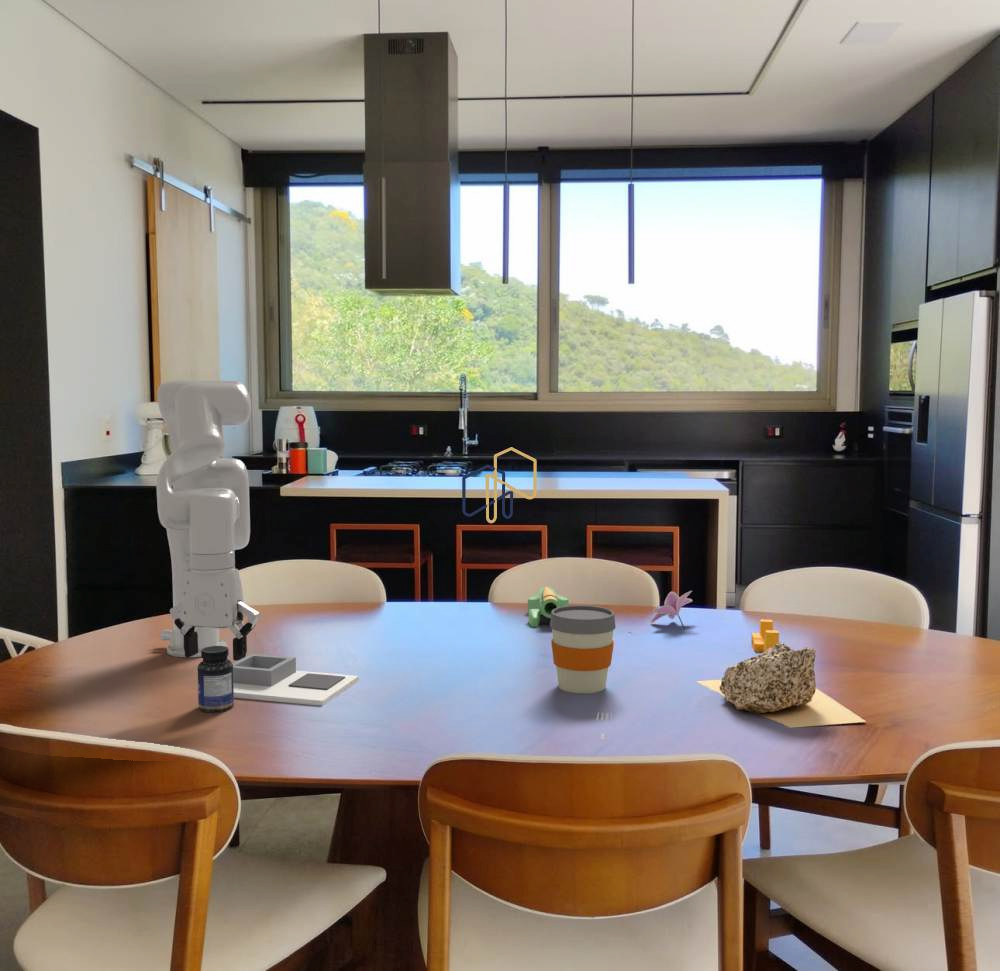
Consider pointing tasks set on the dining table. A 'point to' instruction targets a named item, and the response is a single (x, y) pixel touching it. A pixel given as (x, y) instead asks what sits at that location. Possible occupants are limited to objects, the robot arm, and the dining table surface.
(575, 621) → the reusable coffee cup
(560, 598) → the toy spaceship
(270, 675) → the socket board
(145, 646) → the dining table surface
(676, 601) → the lily
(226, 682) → the pill bottle
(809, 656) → the rock
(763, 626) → the orange stepped block
